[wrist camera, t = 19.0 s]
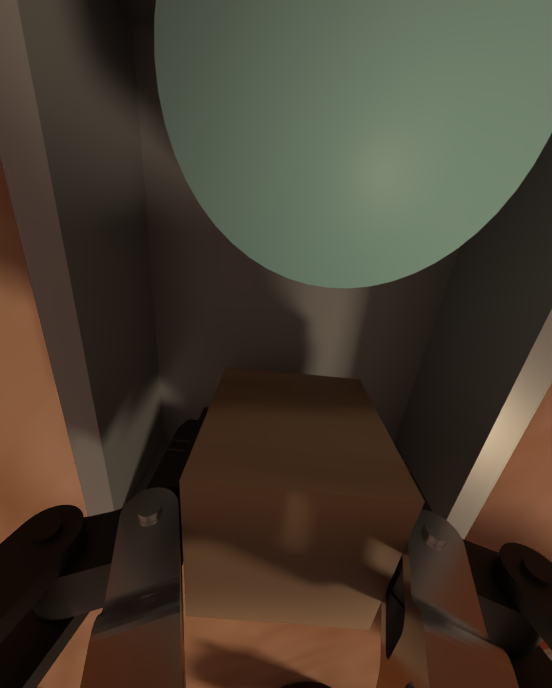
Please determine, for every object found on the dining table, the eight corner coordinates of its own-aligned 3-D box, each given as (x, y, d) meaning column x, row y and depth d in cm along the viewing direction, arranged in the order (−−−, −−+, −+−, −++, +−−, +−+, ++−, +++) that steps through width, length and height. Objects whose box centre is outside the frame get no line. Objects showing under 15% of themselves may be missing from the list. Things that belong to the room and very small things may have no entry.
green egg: (241, 81, 9) (132, -336, 2) (396, 98, 9) (708, -258, 2) (235, 246, 11) (166, 272, 4) (362, 259, 11) (485, 303, 4)
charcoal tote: (113, -2, 9) (-117, -318, 4) (538, 50, 9) (863, -177, 4) (154, 439, 16) (93, 539, 11) (395, 460, 16) (448, 567, 11)
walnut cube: (225, 366, 10) (179, 481, 5) (359, 379, 10) (425, 501, 6) (222, 467, 12) (186, 615, 7) (335, 477, 12) (369, 629, 8)
